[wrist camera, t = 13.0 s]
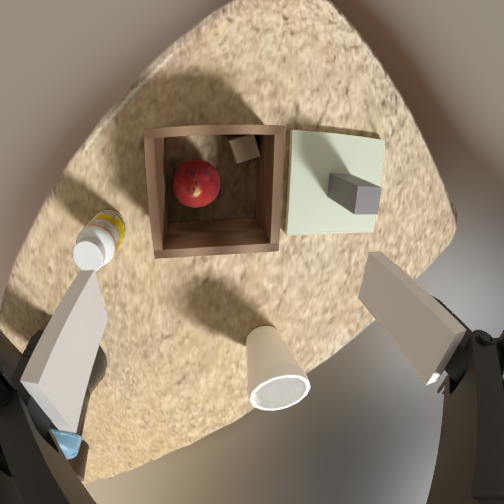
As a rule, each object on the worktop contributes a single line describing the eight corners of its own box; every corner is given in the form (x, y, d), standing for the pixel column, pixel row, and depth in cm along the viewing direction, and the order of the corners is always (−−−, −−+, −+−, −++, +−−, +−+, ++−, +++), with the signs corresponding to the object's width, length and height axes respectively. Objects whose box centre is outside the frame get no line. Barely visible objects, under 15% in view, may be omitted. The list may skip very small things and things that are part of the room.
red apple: (172, 159, 34) (165, 168, 27) (216, 153, 35) (220, 161, 28) (178, 201, 37) (173, 221, 30) (220, 196, 38) (225, 214, 31)
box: (163, 229, 38) (154, 258, 30) (157, 128, 32) (143, 129, 24) (262, 224, 41) (278, 251, 33) (265, 125, 34) (284, 125, 26)
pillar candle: (86, 439, 60) (79, 478, 47) (90, 450, 64) (86, 487, 50) (58, 431, 57) (50, 468, 44) (65, 443, 61) (58, 478, 48)
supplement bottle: (116, 202, 35) (93, 227, 27) (133, 234, 38) (117, 267, 29) (86, 219, 35) (60, 247, 27) (104, 249, 38) (83, 283, 29)
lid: (283, 231, 42) (305, 260, 34) (289, 129, 36) (316, 132, 27) (368, 228, 45) (401, 253, 36) (379, 139, 38) (419, 147, 30)
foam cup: (230, 352, 50) (241, 408, 39) (248, 314, 47) (263, 372, 36) (276, 358, 53) (293, 410, 42) (296, 323, 50) (321, 376, 39)
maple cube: (234, 160, 36) (237, 163, 33) (227, 139, 35) (229, 141, 32) (256, 153, 36) (260, 156, 33) (249, 132, 35) (253, 133, 32)
